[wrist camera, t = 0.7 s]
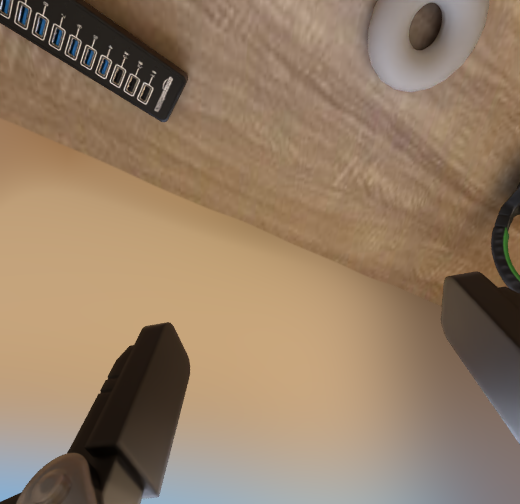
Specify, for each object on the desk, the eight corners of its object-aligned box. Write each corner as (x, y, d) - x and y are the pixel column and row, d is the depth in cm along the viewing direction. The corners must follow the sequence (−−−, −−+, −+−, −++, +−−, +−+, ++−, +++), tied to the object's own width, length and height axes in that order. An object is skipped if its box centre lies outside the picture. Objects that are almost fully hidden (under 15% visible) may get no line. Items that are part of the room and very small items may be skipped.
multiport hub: (7, -54, 22) (-12, -61, 20) (189, 75, 28) (187, 79, 26) (-5, 10, 24) (-23, 9, 22) (168, 118, 30) (165, 124, 28)
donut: (426, 101, 32) (497, -21, 26) (446, 109, 29) (529, -25, 24) (342, 69, 29) (400, -74, 24) (355, 74, 27) (423, -86, 21)
